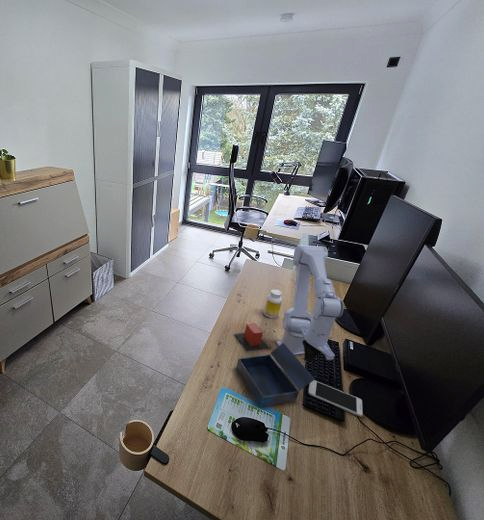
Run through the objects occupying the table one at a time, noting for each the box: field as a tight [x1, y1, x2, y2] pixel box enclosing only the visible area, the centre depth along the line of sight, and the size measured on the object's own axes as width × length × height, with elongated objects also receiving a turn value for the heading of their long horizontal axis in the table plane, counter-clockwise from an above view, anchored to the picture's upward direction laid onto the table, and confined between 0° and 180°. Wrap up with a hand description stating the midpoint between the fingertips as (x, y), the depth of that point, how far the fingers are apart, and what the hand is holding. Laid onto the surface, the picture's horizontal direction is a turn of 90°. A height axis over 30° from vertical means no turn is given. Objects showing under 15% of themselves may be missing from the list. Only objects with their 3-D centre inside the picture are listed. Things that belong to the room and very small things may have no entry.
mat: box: [234, 332, 269, 352], centre depth 123 cm, size 10×10×1 cm
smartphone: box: [307, 379, 364, 418], centre depth 99 cm, size 7×15×1 cm, turn 57°
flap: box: [270, 343, 316, 391], centre depth 101 cm, size 6×17×1 cm
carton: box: [235, 354, 300, 409], centre depth 102 cm, size 13×17×5 cm
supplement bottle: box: [262, 289, 283, 319], centre depth 137 cm, size 7×7×13 cm
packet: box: [243, 322, 264, 346], centre depth 121 cm, size 4×6×7 cm, turn 10°
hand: (308, 359), depth 101 cm, fingers closed
